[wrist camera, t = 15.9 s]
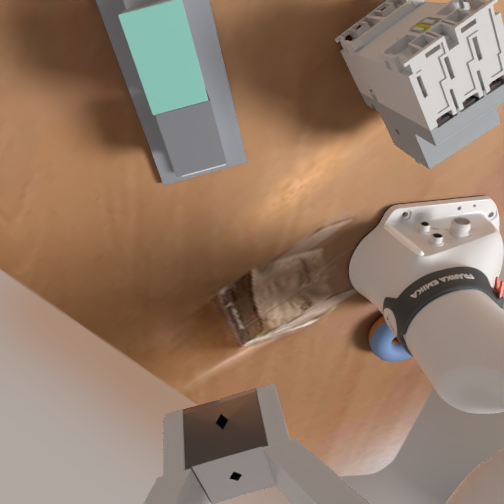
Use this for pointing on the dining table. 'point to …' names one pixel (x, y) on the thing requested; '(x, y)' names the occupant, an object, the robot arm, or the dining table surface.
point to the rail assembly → (190, 117)
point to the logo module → (164, 54)
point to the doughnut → (386, 342)
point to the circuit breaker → (430, 72)
